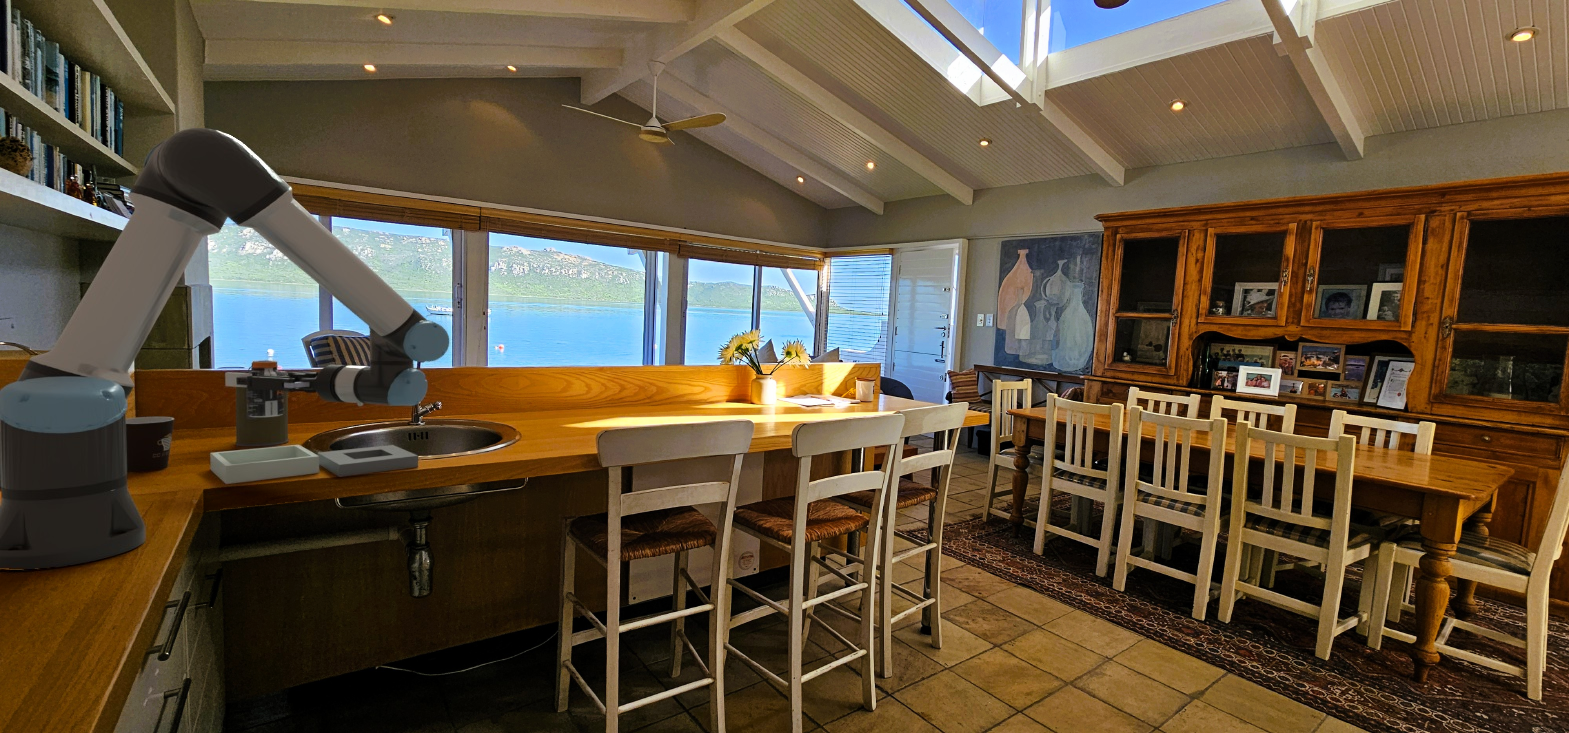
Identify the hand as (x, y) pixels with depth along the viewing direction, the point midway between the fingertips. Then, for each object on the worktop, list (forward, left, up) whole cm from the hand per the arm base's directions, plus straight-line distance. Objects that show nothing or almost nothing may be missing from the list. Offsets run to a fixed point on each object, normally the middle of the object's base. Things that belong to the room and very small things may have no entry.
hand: (242, 377), depth 136 cm
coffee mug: (+12, +12, -19) cm, 26 cm away
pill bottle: (-4, -3, -8) cm, 9 cm away
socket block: (-10, -20, -19) cm, 29 cm away
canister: (+29, -9, -19) cm, 36 cm away
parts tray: (-4, -3, -19) cm, 20 cm away
